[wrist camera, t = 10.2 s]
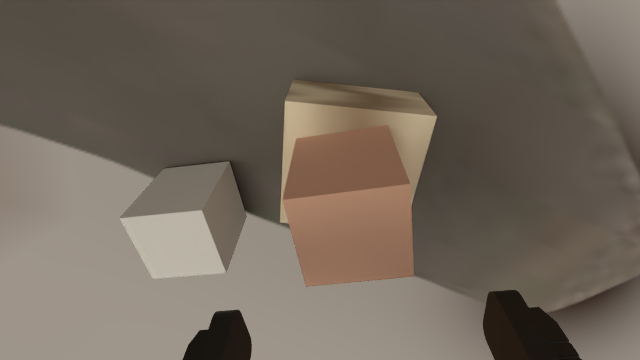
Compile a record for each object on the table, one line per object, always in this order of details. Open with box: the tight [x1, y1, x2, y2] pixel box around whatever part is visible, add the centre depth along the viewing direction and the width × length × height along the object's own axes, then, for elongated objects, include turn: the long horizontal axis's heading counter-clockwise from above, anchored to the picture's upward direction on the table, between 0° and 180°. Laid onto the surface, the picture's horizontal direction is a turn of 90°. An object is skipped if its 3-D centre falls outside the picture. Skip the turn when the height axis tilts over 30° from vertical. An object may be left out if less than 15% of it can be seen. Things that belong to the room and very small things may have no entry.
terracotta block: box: [282, 125, 414, 287], centre depth 17 cm, size 5×5×6 cm
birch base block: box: [280, 80, 437, 223], centre depth 21 cm, size 8×8×4 cm
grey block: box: [120, 161, 246, 279], centre depth 23 cm, size 5×5×6 cm
